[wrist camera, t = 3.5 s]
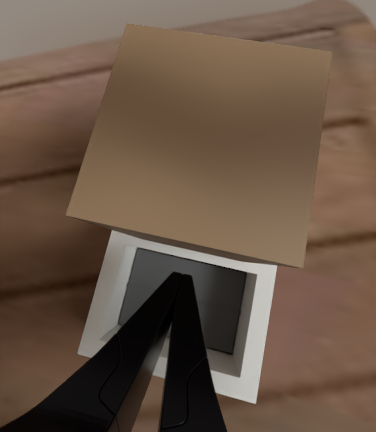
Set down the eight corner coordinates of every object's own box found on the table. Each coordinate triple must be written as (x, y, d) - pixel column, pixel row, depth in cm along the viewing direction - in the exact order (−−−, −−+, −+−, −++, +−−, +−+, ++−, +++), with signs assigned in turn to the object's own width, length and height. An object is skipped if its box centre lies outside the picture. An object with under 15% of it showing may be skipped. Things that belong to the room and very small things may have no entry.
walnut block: (241, 261, 13) (302, 268, 5) (142, 239, 14) (65, 215, 6) (258, 165, 14) (332, 51, 6) (166, 148, 15) (126, 23, 7)
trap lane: (244, 374, 15) (255, 403, 12) (100, 335, 16) (77, 354, 13) (293, 82, 18) (310, 48, 15) (173, 64, 19) (168, 29, 16)
